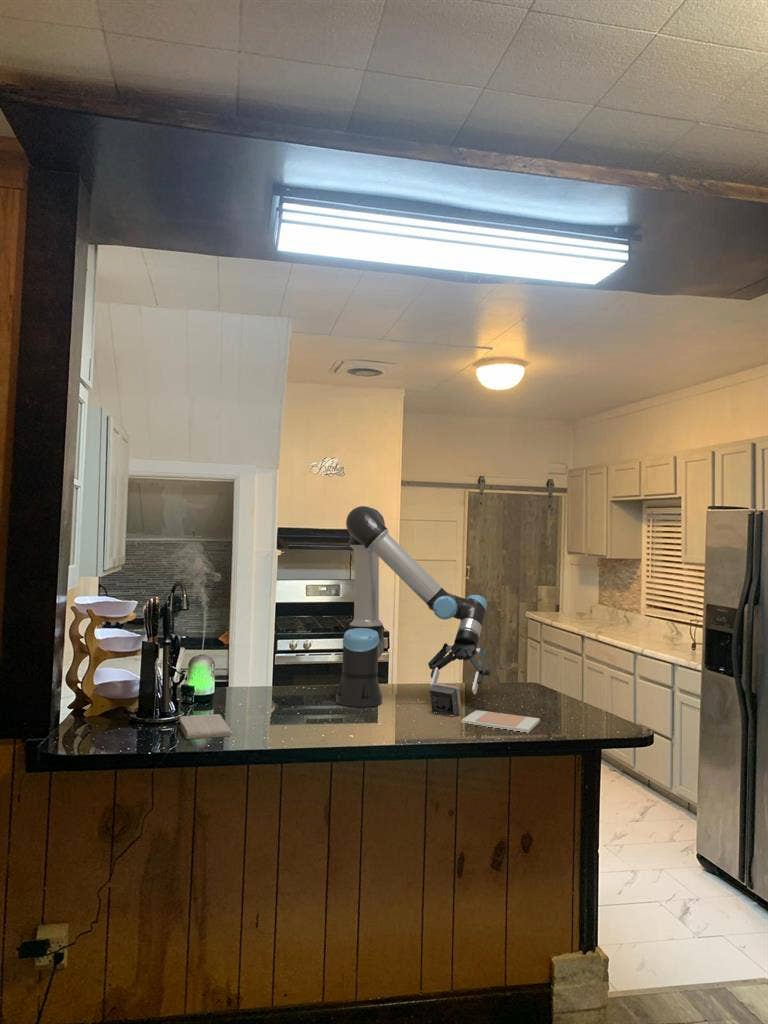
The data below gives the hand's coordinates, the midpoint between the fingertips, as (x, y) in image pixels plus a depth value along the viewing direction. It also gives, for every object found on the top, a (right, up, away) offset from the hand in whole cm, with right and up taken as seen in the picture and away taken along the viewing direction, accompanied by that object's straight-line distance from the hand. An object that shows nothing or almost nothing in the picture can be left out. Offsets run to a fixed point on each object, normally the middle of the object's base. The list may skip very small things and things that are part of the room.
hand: (452, 689), depth 225 cm
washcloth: (-71, -5, -29) cm, 77 cm away
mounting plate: (+13, -7, -10) cm, 18 cm away
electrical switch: (-3, -7, -2) cm, 8 cm away
